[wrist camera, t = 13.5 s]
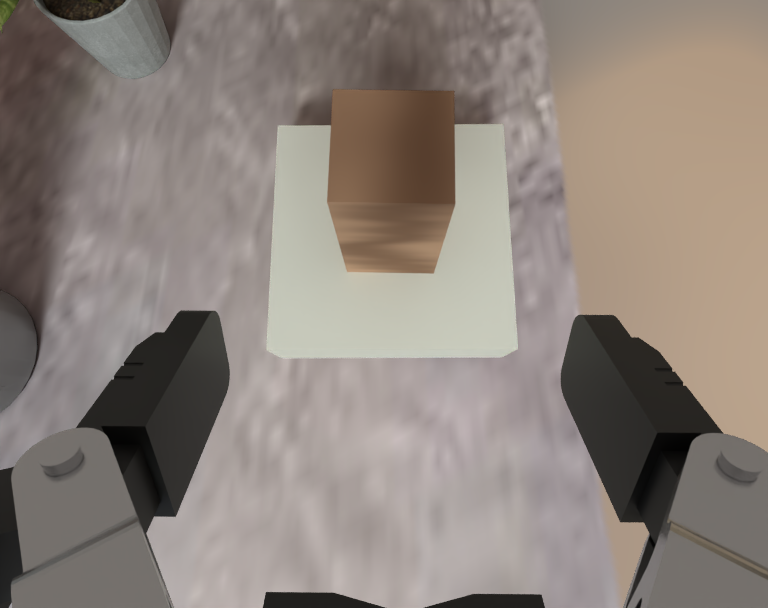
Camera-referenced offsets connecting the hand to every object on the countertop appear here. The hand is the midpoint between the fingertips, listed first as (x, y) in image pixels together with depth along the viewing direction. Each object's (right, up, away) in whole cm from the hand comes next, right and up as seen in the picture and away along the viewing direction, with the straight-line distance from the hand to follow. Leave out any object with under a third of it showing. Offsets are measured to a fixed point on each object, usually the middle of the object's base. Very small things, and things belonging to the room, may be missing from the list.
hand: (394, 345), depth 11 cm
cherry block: (0, +5, +18) cm, 18 cm away
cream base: (0, +4, +22) cm, 22 cm away
